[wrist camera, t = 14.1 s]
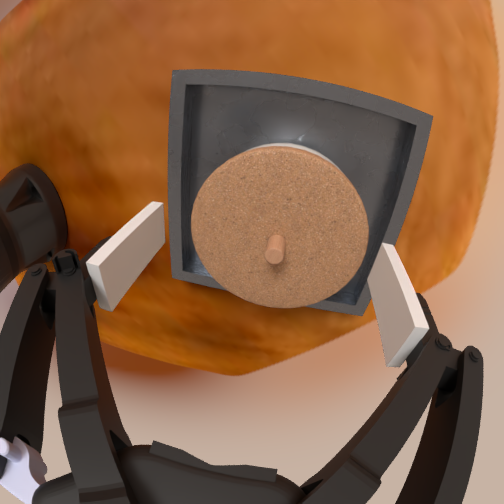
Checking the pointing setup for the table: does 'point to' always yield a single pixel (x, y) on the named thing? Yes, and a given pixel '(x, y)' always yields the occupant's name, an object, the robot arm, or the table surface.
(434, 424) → the robot arm
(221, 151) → the tray
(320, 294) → the lidded jar
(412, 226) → the table surface
